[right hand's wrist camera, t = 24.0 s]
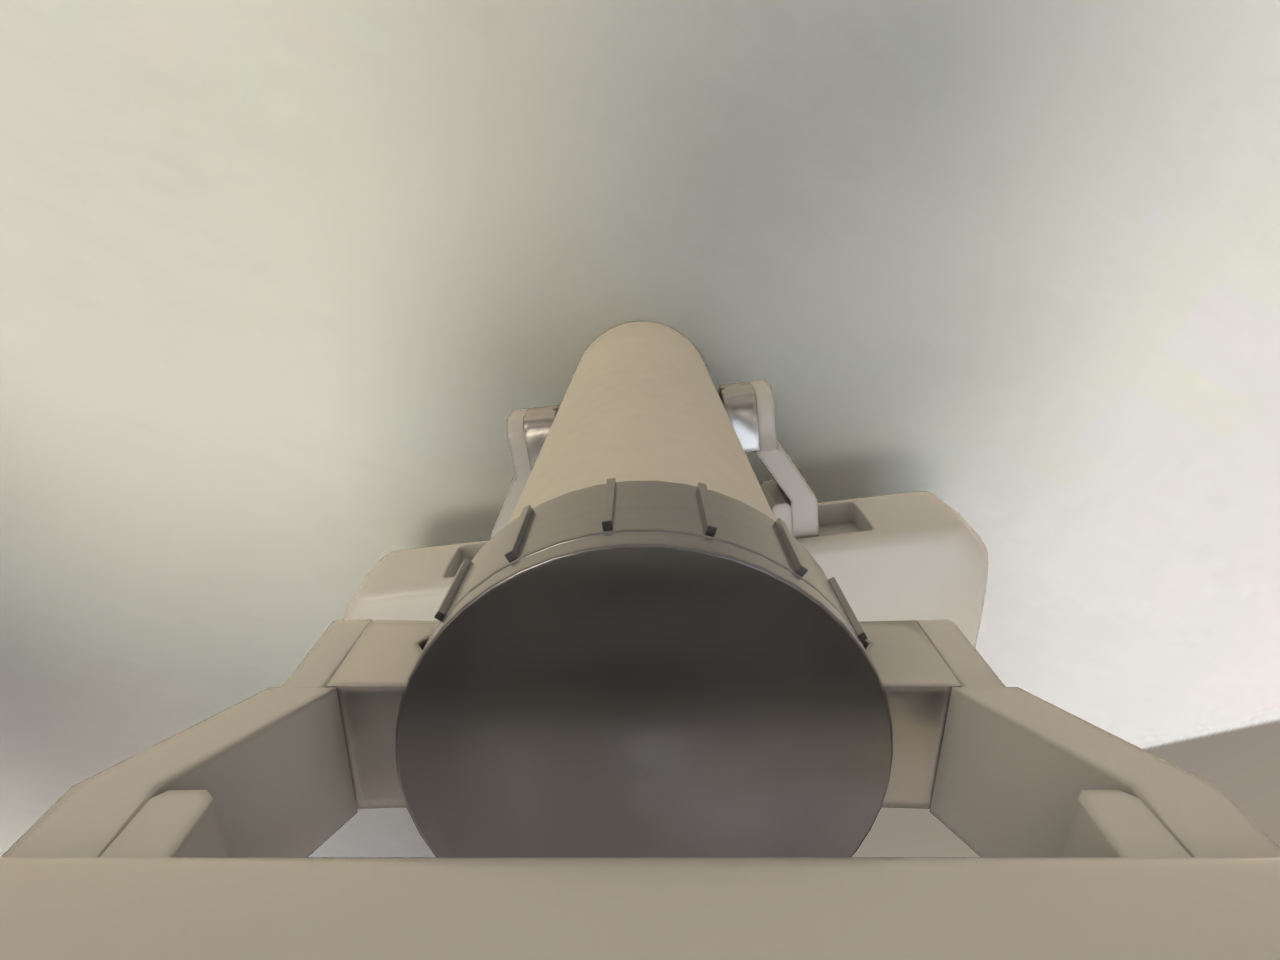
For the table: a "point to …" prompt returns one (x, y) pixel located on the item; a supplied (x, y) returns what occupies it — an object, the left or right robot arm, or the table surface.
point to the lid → (644, 690)
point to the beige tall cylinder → (642, 422)
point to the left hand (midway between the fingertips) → (636, 398)
